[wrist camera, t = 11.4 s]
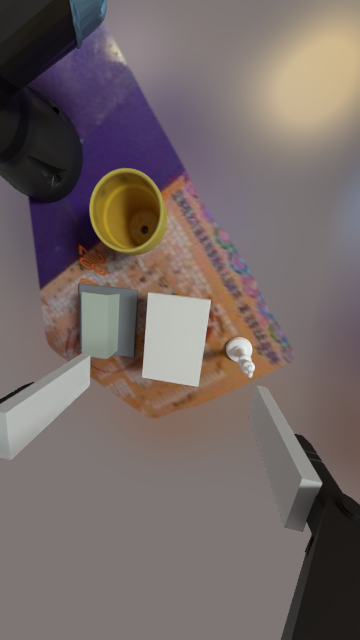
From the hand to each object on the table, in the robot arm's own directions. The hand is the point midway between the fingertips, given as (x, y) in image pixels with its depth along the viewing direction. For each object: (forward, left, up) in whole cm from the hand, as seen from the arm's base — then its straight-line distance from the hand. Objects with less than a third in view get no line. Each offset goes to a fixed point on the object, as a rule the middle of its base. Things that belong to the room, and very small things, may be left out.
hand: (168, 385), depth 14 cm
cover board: (+2, -2, -18) cm, 18 cm away
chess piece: (+4, +10, -23) cm, 25 cm away
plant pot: (-16, -10, -23) cm, 30 cm away
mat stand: (+2, -17, -23) cm, 28 cm away
